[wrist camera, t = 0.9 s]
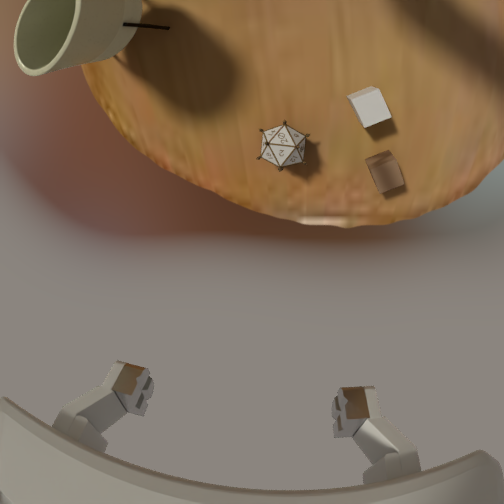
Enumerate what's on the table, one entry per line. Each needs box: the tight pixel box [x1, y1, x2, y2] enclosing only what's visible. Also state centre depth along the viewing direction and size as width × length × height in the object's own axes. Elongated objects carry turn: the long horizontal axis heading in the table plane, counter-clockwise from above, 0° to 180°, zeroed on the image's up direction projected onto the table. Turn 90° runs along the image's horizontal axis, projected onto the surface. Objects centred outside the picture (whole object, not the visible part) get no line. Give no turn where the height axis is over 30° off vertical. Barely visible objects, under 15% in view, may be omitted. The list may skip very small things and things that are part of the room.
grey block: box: [346, 86, 391, 128], centre depth 36 cm, size 5×5×5 cm
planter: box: [14, 0, 170, 76], centre depth 24 cm, size 15×16×23 cm
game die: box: [256, 120, 310, 172], centre depth 42 cm, size 9×8×10 cm
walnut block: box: [365, 150, 404, 194], centre depth 42 cm, size 5×5×5 cm
